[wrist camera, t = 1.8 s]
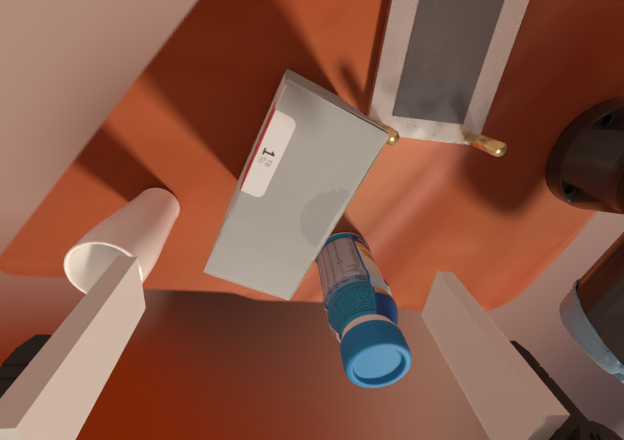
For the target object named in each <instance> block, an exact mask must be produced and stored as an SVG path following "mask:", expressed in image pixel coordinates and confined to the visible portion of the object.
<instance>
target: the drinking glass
mask: <svg viewBox="0 0 624 440" xmlns="http://www.w3.org/2000/svg"><path fill="white" fill-rule="evenodd" d="M179 212H180V206H179V202H178V200H177V199H176V197H175V196H174V195H173V194H172V193H170V192H169V191H167V190H165V189H162V188H149V189H146V190H144V191H143V192H141V193H140V194H139V195H138V196H137V197H136V198H134V199H133V200H132V201H130V202H129V203H127V204H126V205H124V206H123V207H121V208H120V209H119V210H117V211H116V212H114V213H113V214H111V215H110V216H108V217H107V218H105V219H104V220H102V221H101V222H100V223H98V224H97V225H96V226H94V227H93V228H92V229H91V230H89V231H88V232H87V233H86V234H85V235H84V236H83V237H82V238H81V239H80V240H79V241H78V242H77V243H76V244H75V245H74V246H73V247H72V248H71V249H70V250H69V251H68V252H67V254H66V256H65V258H64V270H65V273H66V275H67V277H68V279H69V280H70V282H71V283H72V284H73V285H74V286H75V287H77V288H78V289H79V290H80V291H82V292H84V293H85V294H87V293H88V291H89V290H90V289H91V288H92V287H93V285H94V284H95V283H96V282H97V280H98V279H99V278H100V277H101V276H102V274H103V273H104V272H105V271H106V269H107V268H108V267H109V266H110V265H111V263H112V262H113V261H114V260H115V259H116V257H117V256H132V257H138V260H139V267H140V274H141V280H142V284H143V282H144V281H145V279H146V278H147V277H148V275H149V274H150V272H151V270H152V269H153V267H154V265H155V263H156V262H157V260H158V258H159V255H160V253H161V251H162V249H163V246H164V244H165V242H166V240H167V237H168V235H169V233H170V231H171V228H172V226H173V224H174V222H175V220H176V219H177V217H178V215H179Z"/></svg>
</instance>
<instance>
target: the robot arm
mask: <svg viewBox="0 0 624 440" xmlns="http://www.w3.org/2000/svg"><path fill="white" fill-rule="evenodd" d="M547 182H548V186H549V188H550V190H551V192H552V193H553V194H554V196H555V197H557V198H558V199H560V200H561V201H563V202H565V203H567V204H569V205H571V206H574V207H577V208H580V209H586V210H594V211H602V212H609V213H616V214H624V98H618V99H613V100H609V101H606V102H603V103H601V104H598V105H596V106H595V107H593V108H591V109H589V110H588V111H586V112H585V113H583V114H582V115H581V116H580V117H578V118H577V119H576V120H575V121H574V122H573V123H572V124H571V125H570V126H569V127H568V128H567V129H566V130H565V131H564V133H563V134H562V135H561V137H560V138H559V140H558V141H557V143H556V145H555V146H554V148H553V150H552V153H551V155H550V158H549V161H548V165H547ZM144 310H145V301H144V294H143V287H142V280H141V274H140V267H139V260H138V257H132V256H117V257H116V259H115V260H114V261H113V262H112V263H111V265H110V266H109V267H108V268H107V269H106V271H105V272H104V273H103V274H102V276H101V277H100V278H99V279H98V280H97V282H96V283H95V284H94V285H93V287H92V288H91V289H90V290H89V291H88V293H87V294H86V295H85V296H84V298H83V299H82V300H81V301H80V302H79V304H78V305H77V306H76V307H75V308H74V310H73V311H72V312H71V314H69V316H68V317H67V318H66V319H65V321H64V322H63V323H62V324H61V325H60V327H59V328H58V329H57V330H56V332H55V333H54V334H53V335H35V336H34V337H32V338H31V339H29V340H28V341H26V342H25V343H23V344H22V345H20V346H19V347H17V348H16V349H15V350H14V351H13V352H12V353H11V355H10V356H9V357H8V358H7V359H6V360H5V361H4V362H3V363H2V366H1V367H0V440H75V439H76V437H77V435H78V434H79V432H80V430H81V428H82V426H83V424H84V422H85V420H86V419H87V417H88V415H89V413H90V411H91V409H92V407H93V405H94V404H95V402H96V400H97V398H98V396H99V394H100V393H101V390H102V389H103V387H104V385H105V383H106V381H107V379H108V378H109V376H110V374H111V372H112V370H113V368H114V366H115V365H116V363H117V361H118V359H119V357H120V355H121V353H122V351H123V349H124V348H125V346H126V344H127V342H128V340H129V338H130V336H131V335H132V333H133V331H134V329H135V327H136V325H137V323H138V321H139V320H140V318H141V316H142V314H143V312H144ZM559 311H560V316H561V320H562V323H563V325H564V327H565V328H566V330H567V331H568V333H569V334H570V336H571V337H572V338H573V339H574V341H575V342H576V343H577V344H578V345H579V346H580V347H581V349H582V350H583V351H585V352H586V353H587V355H588V356H589V357H590V358H592V359H593V360H594V361H595V362H596V363H597V364H598V365H599V366H601V367H602V368H603V369H604V370H606V371H607V372H608V373H610V374H614V375H615V376H616V377H617V378H618V379H619V380H620V381H621V382H622V383H624V232H623V234H622V235H621V236H620V237H619V238H618V239H617V240H616V241H615V242H614V243H613V244H612V245H611V246H610V248H609V249H608V250H607V251H606V252H605V253H604V254H603V255H602V256H601V257H600V258H599V259H598V260H597V261H596V262H595V264H594V265H593V266H592V267H591V268H590V269H589V270H588V271H587V272H586V273H585V274H584V275H583V276H582V277H581V278H580V279H579V280H577V281H576V282H575V283H574V285H573V288H572V290H571V291H570V292H569V293H568V295H567V296H566V297H565V298H564V299H563V301H562V302H561V304H560V308H559ZM421 317H422V319H423V320H424V322H425V324H426V326H427V328H428V329H429V331H430V333H431V335H432V336H433V338H434V340H435V342H436V344H437V345H438V347H439V349H440V351H441V353H442V354H443V356H444V358H445V360H446V362H447V363H448V365H449V367H450V369H451V370H452V372H453V374H454V376H455V377H456V379H457V381H458V383H459V385H460V386H461V388H462V390H463V392H464V394H465V395H466V397H467V399H468V401H469V403H470V404H471V406H472V408H473V410H474V412H475V413H476V415H477V417H478V419H479V420H480V422H481V424H482V426H483V428H484V430H485V431H486V433H487V434H488V437H489V438H490V440H623V439H622V438H621V437H619V436H618V435H617V434H616V433H615V432H613V431H612V430H610V429H609V428H607V427H605V426H604V425H602V424H599V423H597V422H594V421H588V420H587V418H586V417H585V416H584V415H583V414H582V413H581V412H580V411H579V410H578V408H577V407H576V406H575V405H574V404H573V402H572V401H571V400H570V399H569V398H568V397H567V395H566V394H565V393H564V392H563V391H562V390H561V389H560V387H559V386H558V385H557V384H556V383H555V381H554V380H553V379H552V378H550V377H549V374H548V373H547V372H546V371H545V370H544V369H543V368H542V367H540V364H539V363H538V362H537V361H536V359H535V358H534V357H533V356H532V355H531V354H530V352H528V351H527V350H526V349H525V348H523V347H522V346H521V345H520V344H518V343H517V342H516V341H509V340H508V339H507V338H506V336H505V335H504V334H503V333H502V332H501V330H500V329H499V328H498V327H497V325H495V323H494V322H493V321H492V320H491V318H490V317H489V316H488V315H487V313H486V312H485V311H484V310H483V308H482V307H481V306H480V305H479V304H478V302H477V301H476V300H475V299H474V298H473V296H472V295H471V294H470V293H469V291H468V290H467V289H466V288H465V287H464V285H463V284H462V283H461V282H460V281H459V279H458V278H457V277H456V276H455V275H454V273H453V272H437V274H436V277H435V280H434V282H433V285H432V288H431V290H430V293H429V295H428V298H427V301H426V303H425V306H424V309H423V311H422V314H421Z"/></svg>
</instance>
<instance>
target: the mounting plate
mask: <svg viewBox="0 0 624 440" xmlns="http://www.w3.org/2000/svg"><path fill="white" fill-rule="evenodd" d="M528 3H529V0H389V3H388V8H387V13H386V18H385V23H384V28H383V33H382V38H381V43H380V49H379V54H378V59H377V64H376V69H375V74H374V79H373V84H372V89H371V94H370V99H369V104H368V109H367V115H366V116H367V117H368V118H370V119H371V120H373V121H374V122H376V123H377V124H379V125H380V126H382V127H383V128H385V129H386V130H387V131H389V133H388V140H387V142H386V143H387V144H389V145H393V144H395V143H397V142H398V140H399V137H404V138H413V139H422V140H430V141H439V142H448V143H457V144H465V145H471V146H473V147H476V148H478V149H480V150H482V151H485V152H487V153H489V154H491V155H494V156H496V157H499V156H502V155H503V154H504V153H505V152H506V150H507V145H506V144H505V143H503V142H500V141H498V140H495V139H492V138H489V137H487V136H484V135H481V132H482V129H483V126H484V124H485V121H486V118H487V115H488V113H489V110H490V107H491V104H492V102H493V99H494V96H495V93H496V91H497V88H498V85H499V82H500V80H501V77H502V74H503V71H504V69H505V66H506V63H507V60H508V58H509V55H510V52H511V49H512V47H513V44H514V41H515V38H516V36H517V33H518V30H519V27H520V25H521V22H522V19H523V16H524V14H525V11H526V8H527V5H528Z"/></svg>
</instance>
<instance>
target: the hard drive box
mask: <svg viewBox="0 0 624 440" xmlns="http://www.w3.org/2000/svg"><path fill="white" fill-rule="evenodd" d="M388 133H389V131H387V130H386V129H385V128H383V127H382V126H380V125H379V124H377V123H376V122H374V121H373V120H371V119H370V118H368V117H367V116H366V115H364V114H363V113H361V112H360V111H359V110H357V109H356V108H354V107H352V106H351V105H350V104H348V103H347V102H345V101H344V100H343V99H342V98H340V97H339V96H337V95H336V94H334V93H332V92H330V91H328V90H327V89H325V88H323V87H321V86H319V85H317V84H316V83H314V82H312V81H310V80H308V79H306V78H304V77H303V76H301V75H299V74H297V73H295V72H293V71H291V70H289V69H286V71H285V73H284V75H283V78H282V80H281V82H280V84H279V87H278V89H277V91H276V94H275V96H274V98H273V101H272V103H271V105H270V108H269V110H268V112H267V115H266V117H265V119H264V121H263V124H262V126H261V128H260V131H259V133H258V135H257V138H256V140H255V142H254V144H253V147H252V149H251V151H250V154H249V156H248V158H247V161H246V163H245V165H244V168H243V170H242V173H241V175H240V177H239V180H238V182H237V184H236V187H235V190H234V192H233V195H232V198H231V201H230V203H229V206H228V209H227V211H226V214H225V217H224V220H223V222H222V225H221V228H220V230H219V233H218V236H217V238H216V241H215V244H214V246H213V249H212V251H211V254H210V256H209V259H208V262H207V264H206V267H205V269H204V273H207V274H210V275H213V276H215V277H218V278H221V279H225V280H228V281H231V282H233V283H237V284H240V285H243V286H245V287H249V288H252V289H255V290H258V291H261V292H264V293H267V294H270V295H273V296H276V297H279V298H282V299H285V300H289V299H291V298H292V296H293V295H294V293H295V292H296V290H297V289H298V287H299V285H300V284H301V282H302V280H303V279H304V277H305V275H306V274H307V272H308V271H309V269H310V267H311V266H312V264H313V262H314V261H315V259H316V257H317V256H318V254H319V252H320V251H321V249H322V247H323V246H324V244H325V242H326V241H327V239H328V237H329V236H330V234H331V233H332V231H333V229H334V228H335V226H336V224H337V223H338V221H339V219H340V218H341V216H342V215H343V213H344V211H345V210H346V208H347V206H348V205H349V203H350V202H351V200H352V198H353V197H354V195H355V193H356V192H357V190H358V189H359V187H360V185H361V184H362V182H363V181H364V179H365V177H366V176H367V174H368V172H369V171H370V169H371V167H372V166H373V164H374V162H375V161H376V159H377V157H378V156H379V154H380V152H381V150H382V148H383V147H384V145H385V143H386V142H387V140H388Z"/></svg>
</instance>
